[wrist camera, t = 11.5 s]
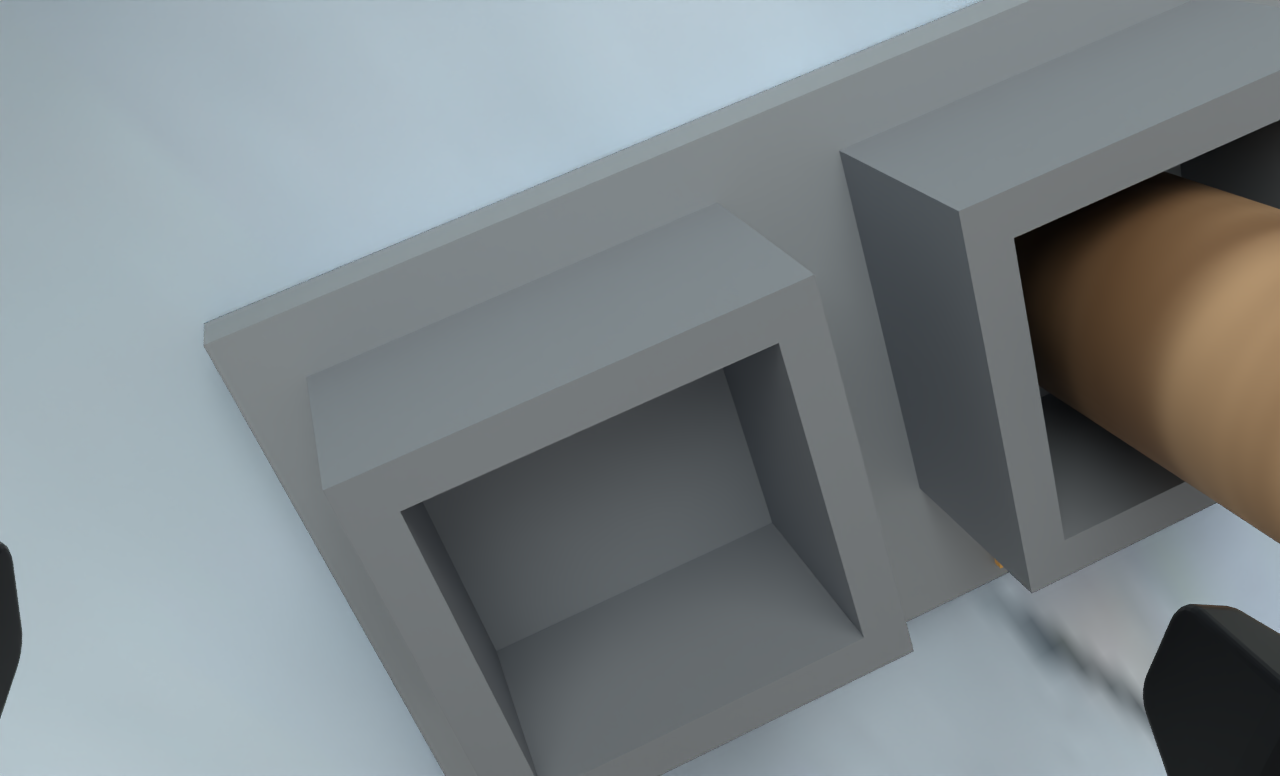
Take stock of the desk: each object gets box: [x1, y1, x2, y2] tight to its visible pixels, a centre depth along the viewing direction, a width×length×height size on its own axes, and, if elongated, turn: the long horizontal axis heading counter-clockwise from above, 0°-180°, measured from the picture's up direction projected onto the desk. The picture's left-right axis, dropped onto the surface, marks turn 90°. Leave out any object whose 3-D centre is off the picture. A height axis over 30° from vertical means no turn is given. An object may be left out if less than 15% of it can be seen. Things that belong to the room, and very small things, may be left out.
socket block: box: [203, 0, 1280, 776], centre depth 22 cm, size 22×12×5 cm, turn 109°
